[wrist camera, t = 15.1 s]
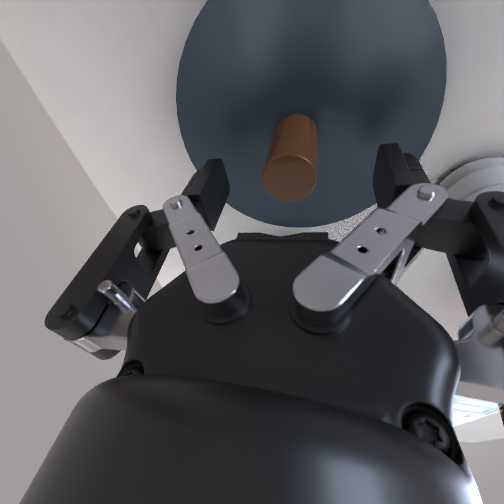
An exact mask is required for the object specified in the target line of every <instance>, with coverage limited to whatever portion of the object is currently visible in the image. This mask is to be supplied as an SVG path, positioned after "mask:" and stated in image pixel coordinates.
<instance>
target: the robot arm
mask: <svg viewBox="0 0 504 504" xmlns="http://www.w3.org/2000/svg"><path fill="white" fill-rule="evenodd" d="M373 190H374V194H375V198H376V202H377V206H378V207H377V208H376V209H375V210H374V211H373V212H372V213H371V214H370V215H368V216H367V217H366V218H365V219H364V220H363V221H362V222H361V223H360V224H359V225H358V226H357V227H356V228H355V229H354V230H352V231H351V232H350V233H349V234H348V235H347V236H346V237H345V238H344V239H343V240H342V241H341V242H338V241H334V240H330V239H328V232H311V233H299V234H294V235H288V236H283V237H278V236H273V235H268V234H262V233H238V235H237V238H236V239H235V240H231V241H228V242H226V243H223V244H221V245H219V244H218V242H217V241H216V239H215V237H214V236H213V234H212V232H211V231H214V229H215V227H216V224H217V222H218V220H219V217H220V215H221V212H222V210H223V208H224V205H225V203H226V200H227V198H228V196H229V193H230V184H229V180H228V177H227V173H226V170H225V166H224V163H223V160H222V159H221V158H218V159H208V160H207V161H206V163H205V165H204V166H203V168H202V169H200V170H198V171H197V172H196V173H195V174H194V175H193V177H192V178H191V180H190V181H189V183H188V185H187V186H186V188H185V189H184V191H183V192H182V194H181V195H178V196H174V197H172V198H170V199H168V200H167V201H166V202H165V203H164V204H163V209H162V210H158V211H154V212H149V210H148V208H147V207H146V206H145V205H137V206H133V207H131V208H129V209H127V210H126V211H125V212H124V213H123V214H122V215H121V216H120V218H119V219H118V220H117V222H116V223H115V224H114V226H113V227H112V228H111V230H110V231H109V232H108V234H107V235H106V236H105V238H104V239H103V240H102V242H101V243H100V244H99V246H98V247H97V248H96V250H95V251H94V252H93V254H92V255H91V256H90V258H89V259H88V260H87V262H86V263H85V264H84V266H83V267H82V268H81V270H80V271H79V272H78V274H77V275H76V276H75V278H74V279H73V280H72V282H71V283H70V284H69V286H68V287H67V288H66V289H65V291H64V292H63V294H62V295H61V296H60V298H59V299H58V300H57V301H56V303H55V304H54V306H53V307H52V308H51V310H50V311H49V312H48V314H47V316H46V318H45V326H46V327H47V328H48V329H50V330H51V331H53V332H55V333H57V334H58V335H60V336H61V337H63V338H64V340H66V341H68V342H69V343H71V344H73V345H74V346H76V347H78V348H80V349H81V350H83V351H85V352H88V353H90V354H92V355H94V356H95V357H97V358H99V359H101V360H105V359H110V358H112V357H113V356H115V355H116V354H118V353H119V352H120V351H121V350H126V354H125V358H124V362H123V365H122V368H121V370H120V372H119V374H118V375H117V377H116V378H113V379H110V380H107V381H105V382H102V383H100V384H99V385H97V386H95V387H94V388H92V389H91V390H90V391H88V392H87V393H86V394H85V395H84V396H83V397H82V398H81V399H80V400H79V402H78V403H77V404H76V406H75V407H74V409H73V410H72V412H71V414H70V416H69V418H68V419H67V421H66V423H65V425H64V426H63V428H62V430H61V432H60V433H59V435H58V437H57V439H56V441H55V442H54V444H53V446H52V447H51V449H50V451H49V453H48V455H47V456H46V458H45V460H44V461H43V463H42V465H41V467H40V468H39V470H38V472H37V474H36V476H35V477H34V479H33V481H32V483H31V484H30V486H29V488H28V490H27V491H26V493H25V495H24V497H23V499H22V500H21V502H20V504H483V503H482V500H481V497H480V494H479V491H478V488H477V485H476V483H475V480H474V478H473V475H472V473H471V471H470V468H469V466H468V464H467V461H466V459H465V457H464V455H463V452H462V450H461V447H460V445H459V442H458V439H457V436H456V433H455V428H454V422H453V401H454V395H458V396H464V397H469V398H474V399H479V400H485V401H490V402H495V403H500V404H501V405H502V406H503V407H504V192H501V191H488V192H483V193H481V194H479V195H478V196H477V197H476V199H475V201H474V202H470V201H463V200H456V199H451V198H448V192H447V191H446V190H445V189H444V188H442V187H441V186H438V185H435V184H431V183H430V181H429V179H428V177H427V175H426V174H425V172H424V170H423V168H422V166H421V165H420V162H419V160H418V158H417V157H415V156H414V155H412V154H410V153H402V151H401V148H400V146H399V144H398V143H390V144H380V145H379V148H378V152H377V157H376V162H375V168H374V173H373ZM137 243H139V245H140V246H141V247H142V249H141V251H140V253H139V254H138V256H137V258H136V257H135V254H134V248H135V246H136V244H137ZM173 247H177V249H178V251H179V254H180V256H181V259H182V261H183V264H184V266H185V271H184V272H183V273H182V274H180V275H179V276H178V277H176V278H175V279H174V280H172V281H171V282H170V283H168V284H167V285H166V286H164V287H163V288H162V289H161V290H159V291H158V292H157V293H155V294H154V295H153V296H151V297H150V298H149V299H147V297H148V295H149V292H150V290H151V288H152V286H153V284H154V282H155V280H156V278H157V276H158V274H159V271H160V269H161V267H162V265H163V263H164V261H165V259H166V257H167V255H168V252H169V250H170V248H173ZM424 248H426V249H431V250H435V251H440V252H444V253H446V255H447V258H448V261H449V264H450V266H451V269H452V272H453V275H454V278H455V281H456V283H457V286H458V289H459V292H460V295H461V298H462V300H463V303H464V306H465V309H466V312H467V315H468V319H467V320H466V321H465V322H464V323H463V324H462V325H461V326H460V328H459V330H458V340H457V341H453V340H452V338H451V337H450V335H449V334H448V332H447V331H446V330H445V329H444V328H443V326H441V325H440V324H439V323H438V322H437V321H436V320H435V319H434V318H433V317H431V316H430V315H429V314H428V313H427V312H426V311H424V310H423V309H422V308H421V307H420V306H419V305H417V304H416V303H415V302H414V301H413V300H412V299H410V298H409V297H408V296H407V295H406V294H405V293H403V292H402V291H401V290H400V289H399V288H398V287H396V284H397V283H398V281H399V279H400V277H401V276H402V275H403V273H404V272H405V271H406V270H407V268H408V267H409V266H410V265H411V264H412V262H413V261H414V260H415V259H416V258H417V256H418V255H419V254H420V253H421V252H422V250H423V249H424ZM146 299H147V300H146Z"/></svg>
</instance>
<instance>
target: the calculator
mask: <svg viewBox="0 0 504 504" xmlns="http://www.w3.org/2000/svg"><path fill="white" fill-rule="evenodd" d="M499 411H500V410H499V406H498V403H495V402H490V401H485V400H479V399H474V398H469V397H464V396H458V395H454V401H453V422H454V426H456V425H460V424H463V423H466V422H469V421H472V420H475V419H478V418H481V417H484V416H487V415H490V414H493V413H496V412H499Z"/></svg>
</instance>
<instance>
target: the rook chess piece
mask: <svg viewBox="0 0 504 504" xmlns="http://www.w3.org/2000/svg"><path fill="white" fill-rule="evenodd" d="M439 186H441V187H442V188H444V189H445V190H446V191H447V192H448V198H451V199H456V200H463V201H470V202H474V201H475V199H476V197H477V196H478V195H479V194H481V193H483V192H488V191H501V192H504V157H494V158H483V159H480V160H476V161H473V162H469V163H466V164H465V165H463V166H461V167H459V168H457V169H456V170H454V171H452V172H451V173H450V174H449V175H448V176H447V177H446V178H445V179H444V180H443V181H442V182H441V183H440V184H439Z"/></svg>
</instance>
